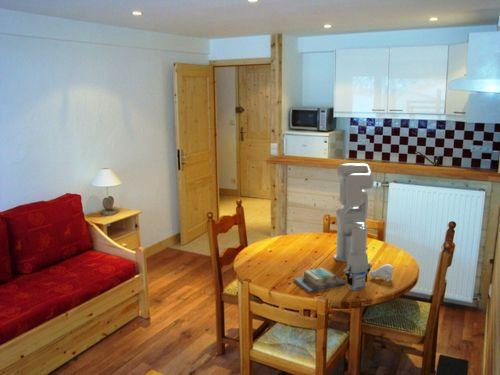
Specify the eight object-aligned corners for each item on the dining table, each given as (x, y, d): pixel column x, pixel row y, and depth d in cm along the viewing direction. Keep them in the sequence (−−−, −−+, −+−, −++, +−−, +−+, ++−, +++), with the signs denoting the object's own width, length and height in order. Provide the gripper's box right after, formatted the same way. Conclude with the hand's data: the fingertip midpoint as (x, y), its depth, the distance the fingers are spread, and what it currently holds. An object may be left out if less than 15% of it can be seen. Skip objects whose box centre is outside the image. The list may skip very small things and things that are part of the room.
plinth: (328, 273, 252) (329, 263, 251) (346, 285, 238) (346, 274, 237) (293, 281, 244) (293, 270, 242) (309, 293, 229) (309, 282, 228)
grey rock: (393, 266, 238) (369, 267, 241) (394, 282, 240) (370, 282, 243) (392, 262, 244) (369, 262, 247) (393, 277, 246) (370, 277, 249)
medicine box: (354, 291, 231) (355, 275, 229) (348, 288, 234) (348, 272, 232) (365, 287, 235) (366, 271, 233) (358, 284, 239) (359, 268, 237)
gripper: (367, 245, 237) (366, 277, 241) (339, 251, 230) (338, 283, 234) (377, 250, 230) (375, 282, 234) (348, 255, 223) (347, 288, 227)
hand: (357, 282), depth 234 cm, fingers closed on medicine box, 8 cm apart
